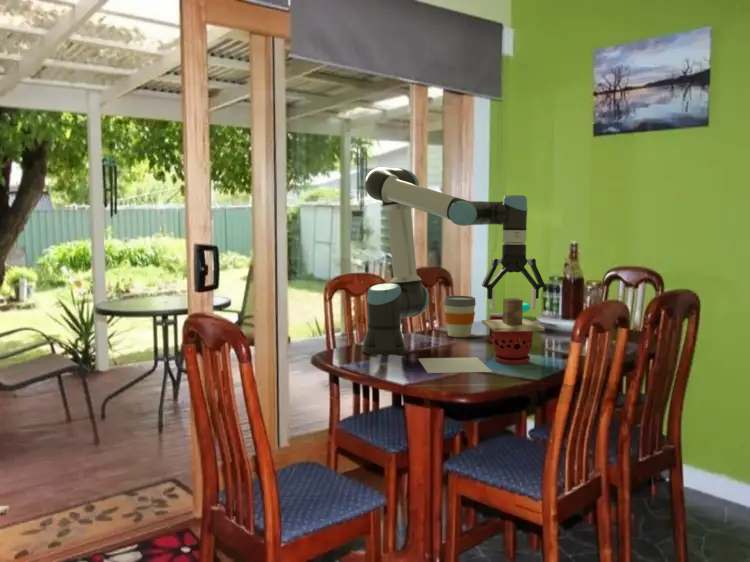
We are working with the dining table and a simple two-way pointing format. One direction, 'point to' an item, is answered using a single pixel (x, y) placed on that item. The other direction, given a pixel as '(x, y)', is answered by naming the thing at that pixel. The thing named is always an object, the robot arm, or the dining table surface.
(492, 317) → the canned food
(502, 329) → the lid
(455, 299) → the reusable coffee cup
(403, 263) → the robot arm
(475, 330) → the dining table surface
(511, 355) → the plant pot
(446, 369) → the mat
